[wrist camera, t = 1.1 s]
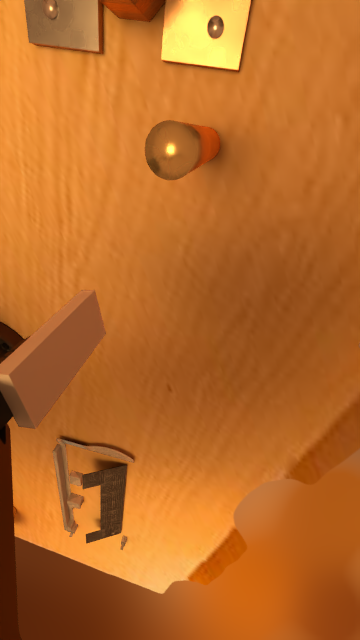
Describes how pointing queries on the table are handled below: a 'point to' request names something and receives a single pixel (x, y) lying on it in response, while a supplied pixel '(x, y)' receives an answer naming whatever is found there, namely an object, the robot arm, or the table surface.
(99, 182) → the table surface
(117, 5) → the hinge
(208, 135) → the hinge pin
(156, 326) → the table surface
